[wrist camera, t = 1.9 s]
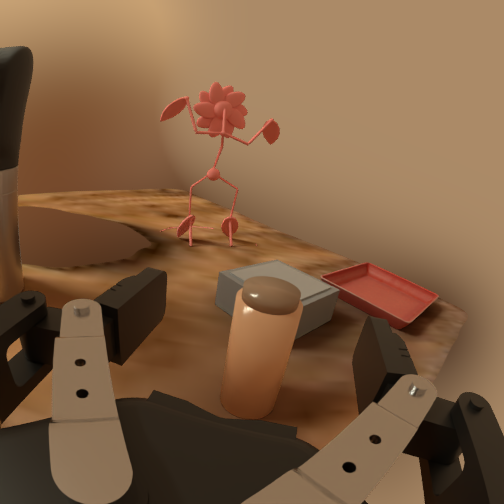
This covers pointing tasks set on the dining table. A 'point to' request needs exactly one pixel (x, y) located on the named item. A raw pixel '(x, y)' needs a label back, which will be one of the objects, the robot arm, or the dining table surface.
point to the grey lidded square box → (312, 290)
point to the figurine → (219, 122)
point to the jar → (259, 345)
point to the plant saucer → (381, 293)
